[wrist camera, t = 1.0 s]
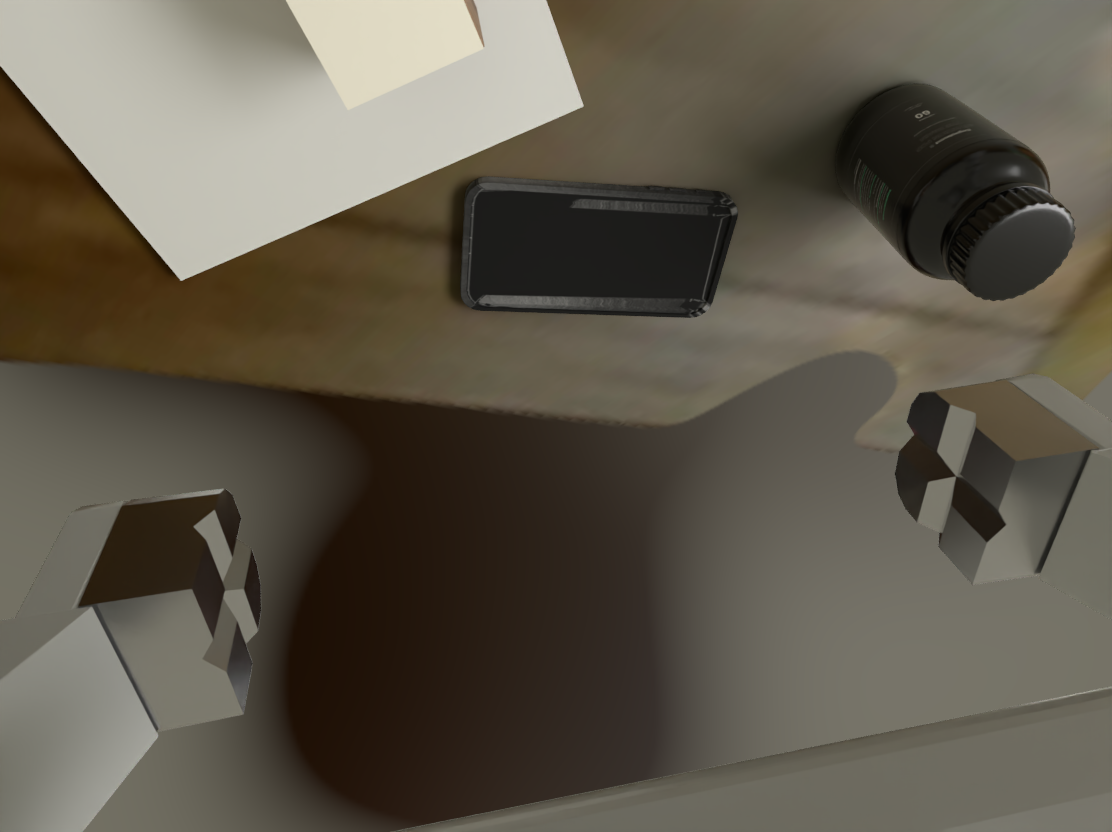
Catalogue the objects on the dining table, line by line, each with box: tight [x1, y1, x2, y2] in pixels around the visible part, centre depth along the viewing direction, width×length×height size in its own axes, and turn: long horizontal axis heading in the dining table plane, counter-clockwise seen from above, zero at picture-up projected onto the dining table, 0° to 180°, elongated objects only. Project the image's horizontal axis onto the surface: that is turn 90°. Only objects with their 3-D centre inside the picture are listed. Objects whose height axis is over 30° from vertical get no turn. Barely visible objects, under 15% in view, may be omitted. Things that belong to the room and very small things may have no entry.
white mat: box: [0, 0, 584, 281], centre depth 34 cm, size 23×18×1 cm
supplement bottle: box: [835, 84, 1076, 301], centre depth 38 cm, size 7×7×12 cm
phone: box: [460, 177, 738, 318], centre depth 44 cm, size 8×1×15 cm
